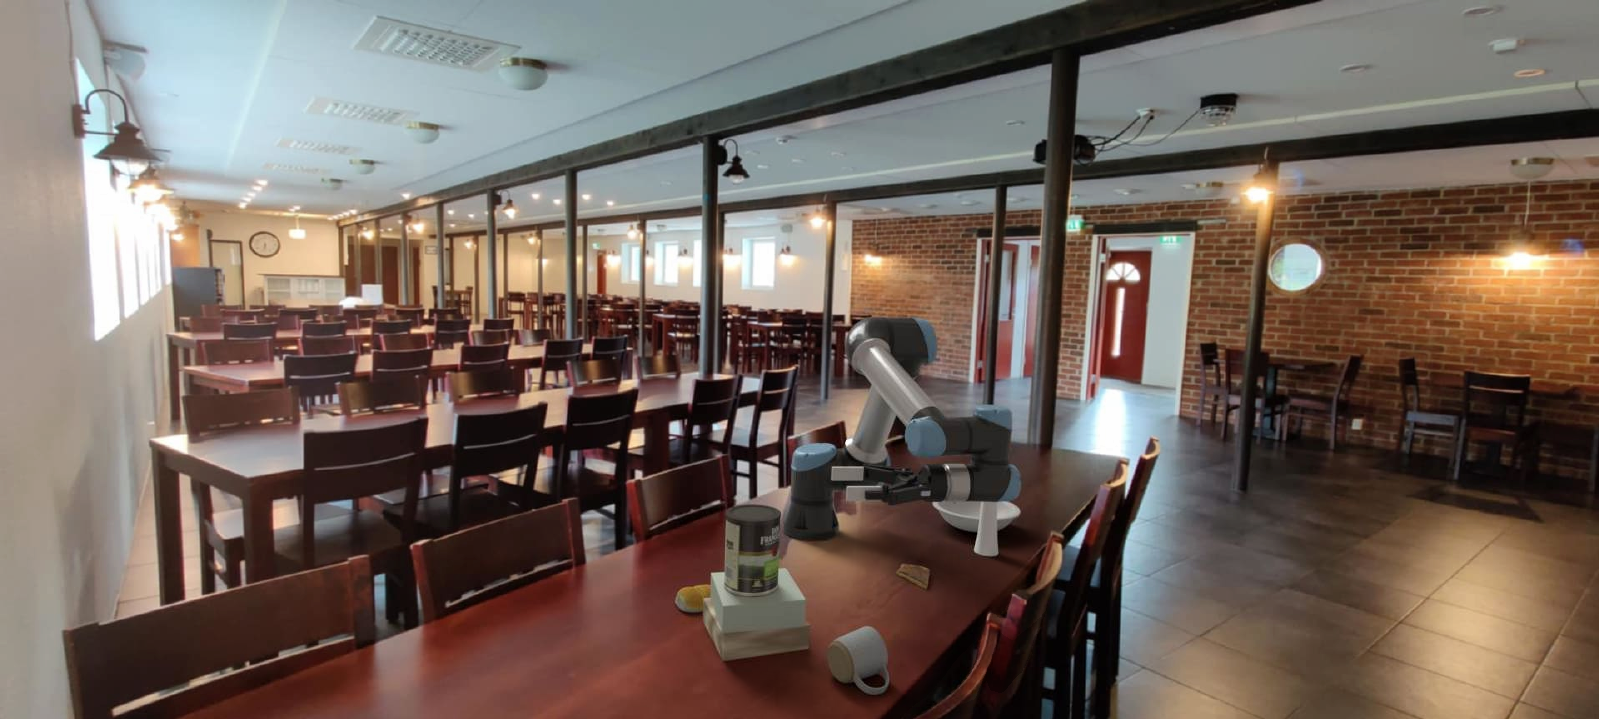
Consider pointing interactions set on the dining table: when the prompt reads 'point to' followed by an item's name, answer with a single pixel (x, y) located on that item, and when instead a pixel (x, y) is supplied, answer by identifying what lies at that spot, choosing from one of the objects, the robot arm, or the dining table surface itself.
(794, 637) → the birch block
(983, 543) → the cosmetic bottle
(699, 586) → the bread roll
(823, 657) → the dining table surface
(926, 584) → the brown sandwich half
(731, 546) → the coffee can
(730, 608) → the sage block
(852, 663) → the ceramic mug
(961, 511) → the soup bowl
